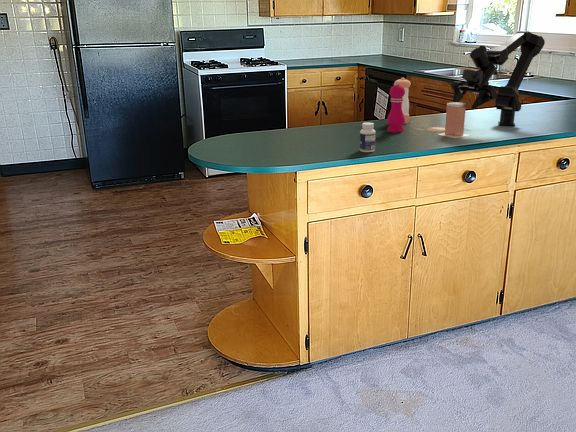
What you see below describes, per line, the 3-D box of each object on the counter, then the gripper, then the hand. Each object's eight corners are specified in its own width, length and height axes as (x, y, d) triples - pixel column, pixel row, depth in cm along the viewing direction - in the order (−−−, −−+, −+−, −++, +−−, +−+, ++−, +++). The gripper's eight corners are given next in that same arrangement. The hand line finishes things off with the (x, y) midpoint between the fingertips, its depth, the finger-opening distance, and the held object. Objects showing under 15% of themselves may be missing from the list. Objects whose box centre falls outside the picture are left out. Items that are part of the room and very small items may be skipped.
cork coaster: (427, 127, 245) (427, 126, 245) (451, 128, 242) (452, 127, 242) (425, 132, 236) (425, 131, 236) (451, 133, 233) (451, 132, 233)
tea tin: (452, 132, 233) (455, 101, 229) (463, 134, 230) (466, 103, 225) (444, 134, 231) (446, 103, 227) (454, 136, 227) (457, 104, 223)
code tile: (452, 132, 236) (452, 131, 236) (470, 135, 229) (470, 134, 229) (437, 135, 231) (437, 134, 231) (455, 138, 224) (455, 137, 224)
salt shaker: (410, 121, 259) (413, 77, 252) (406, 124, 252) (409, 78, 246) (394, 120, 262) (396, 76, 255) (390, 123, 255) (392, 78, 249)
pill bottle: (358, 149, 210) (358, 122, 207) (372, 148, 211) (373, 121, 207) (361, 152, 205) (362, 125, 202) (376, 152, 206) (377, 124, 202)
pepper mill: (404, 133, 235) (407, 82, 228) (386, 132, 236) (388, 82, 230) (404, 129, 242) (407, 80, 235) (386, 129, 243) (388, 80, 236)
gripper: (455, 60, 233) (434, 91, 231) (496, 63, 219) (474, 96, 216) (466, 79, 240) (446, 109, 238) (506, 83, 226) (485, 115, 223)
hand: (462, 107), depth 229 cm, fingers open, 9 cm apart
